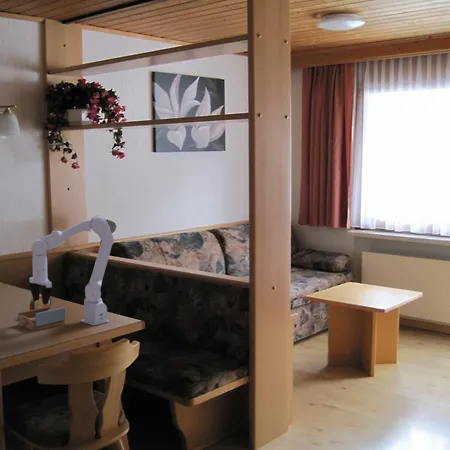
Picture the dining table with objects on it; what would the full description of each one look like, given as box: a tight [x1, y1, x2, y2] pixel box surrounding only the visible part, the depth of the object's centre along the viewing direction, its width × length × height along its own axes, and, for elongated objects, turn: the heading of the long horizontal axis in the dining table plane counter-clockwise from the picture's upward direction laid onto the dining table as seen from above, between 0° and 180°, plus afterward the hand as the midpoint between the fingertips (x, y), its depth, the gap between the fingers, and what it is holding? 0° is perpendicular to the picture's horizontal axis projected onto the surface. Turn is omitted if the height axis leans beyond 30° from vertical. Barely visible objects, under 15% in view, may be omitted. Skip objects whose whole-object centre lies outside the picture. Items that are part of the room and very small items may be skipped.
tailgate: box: [35, 306, 66, 327], centre depth 251 cm, size 1×13×5 cm, turn 138°
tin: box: [29, 293, 52, 311], centre depth 270 cm, size 15×3×8 cm, turn 168°
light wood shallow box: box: [17, 307, 66, 332], centre depth 255 cm, size 12×14×5 cm
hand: (40, 302), depth 254 cm, fingers open, 7 cm apart
